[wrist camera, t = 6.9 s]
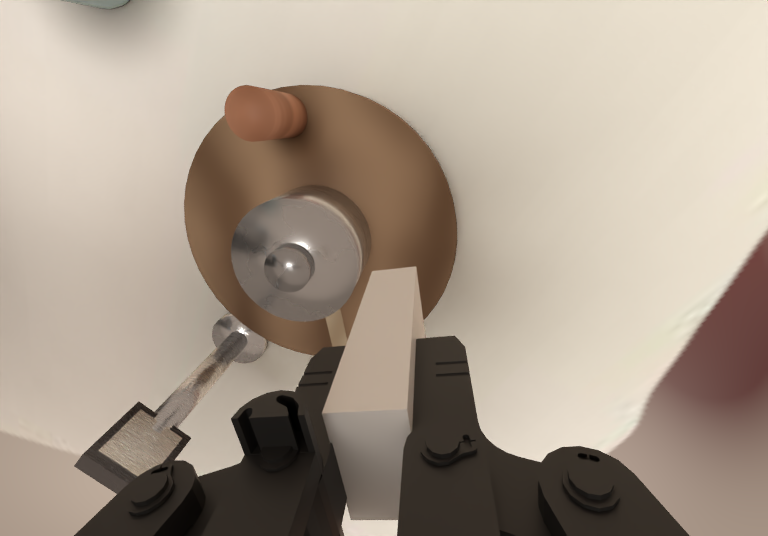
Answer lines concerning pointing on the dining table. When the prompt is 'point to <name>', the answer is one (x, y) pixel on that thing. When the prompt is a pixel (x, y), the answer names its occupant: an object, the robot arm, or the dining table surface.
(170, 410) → the indicator post
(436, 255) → the turntable
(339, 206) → the cover
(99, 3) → the cup
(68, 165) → the dining table surface
